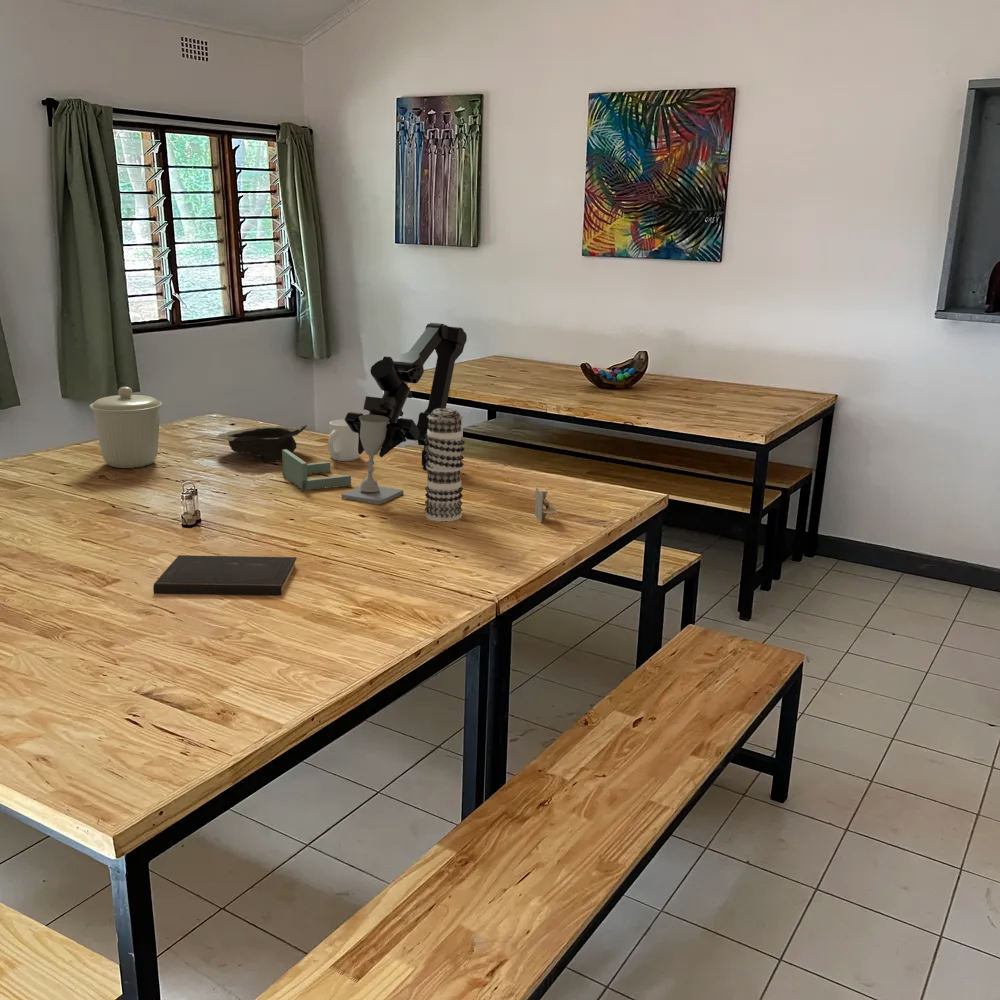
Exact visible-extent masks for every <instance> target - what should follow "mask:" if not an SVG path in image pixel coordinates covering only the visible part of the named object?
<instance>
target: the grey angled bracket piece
mask: <svg viewBox="0 0 1000 1000" xmlns="http://www.w3.org/2000/svg"><path fill="white" fill-rule="evenodd" d="M547 494H548V491H547V490H546V491H542V490H541V491H540V490H539V488H538V487H536V488H535V504H534V505H535V507H534V509H535V510H534V517H535V516H536V517H537V518H538V519H539V521H540V522H542V523H543V519H545V518H546V516H547V514H553V513H555V514H557V513H558V510H557V509H556V508H555V507H554V506H553V505H552V504H551V502H549V501H548V500H547V499H546V497H547ZM544 507H545V509H544ZM536 517H535V518H536ZM537 518H536V519H537ZM538 519H537V520H538ZM539 521H538V522H539ZM540 522H539V523H540Z"/></svg>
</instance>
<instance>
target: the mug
mask: <svg viewBox="0 0 1000 1000" xmlns="http://www.w3.org/2000/svg"><path fill="white" fill-rule="evenodd" d="M358 440H359V435H358V433H355V432H353V431H352V430H351V428H350V427H349V426H348V424H347V423H346V422H345V420H344V419H335V420H331V421H329V437H328V442H327V445H328V447H327V448H328V451H329V454H330V458H331V460H334V461H336V460H337V462H352V461H356V459H357V460H358V459H359V458H360V455H361V454H359V453H358Z"/></svg>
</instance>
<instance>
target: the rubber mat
mask: <svg viewBox="0 0 1000 1000" xmlns="http://www.w3.org/2000/svg"><path fill="white" fill-rule="evenodd" d="M359 487H360V486H357V487H355V488H353V489H351V490H348V491H346V492H344V493H341V496H340V497H341V498H340V499H342V498H346V499H345V500H348V499H350V501H354V500H355V502H360V501H361V503H366V502H368V503H367V504H372V503H375V504H374V505H379V504H381V505H382V503H383V504H384V502H385V503H388V502H389V501H391V500H393V498H394V499H396V498H398V497H400V496H402V495H404V490H403V489H399V488H394V487H393V488H392V487H386V486H381V485H378V487H379V489H380V490H379V491H376V492H365V491H362V490H360V489H359ZM395 497H396V498H395Z"/></svg>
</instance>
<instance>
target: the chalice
mask: <svg viewBox="0 0 1000 1000" xmlns="http://www.w3.org/2000/svg"><path fill="white" fill-rule="evenodd" d="M359 419H360V421H361V428H360V439H361V443H362V446H363V448H364V452H365V454H366V455H368V458H369V459H368V461H367V465H368V468H367V469H366V471H367V476H366V477H365V478H364V479H362V482H361V483H360V485H359V486H358V487H359V489H360V490H362V491H365V492H376V491H379V490H380V489H379V487H378V486H379V484H378V481H377V480H376V478H374V477H373V473H374V471H375V469H374V467H373V466H374V464H375V462H374V457H375V456H377V455H379V453H380V450H381V448H382V445H383V443H384V441H385V439H386V436H387V430H386V426H387V423H388V421H389V418H387V417H385V416H381V415H369V414H363V415H362V416H360V417H359Z"/></svg>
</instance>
